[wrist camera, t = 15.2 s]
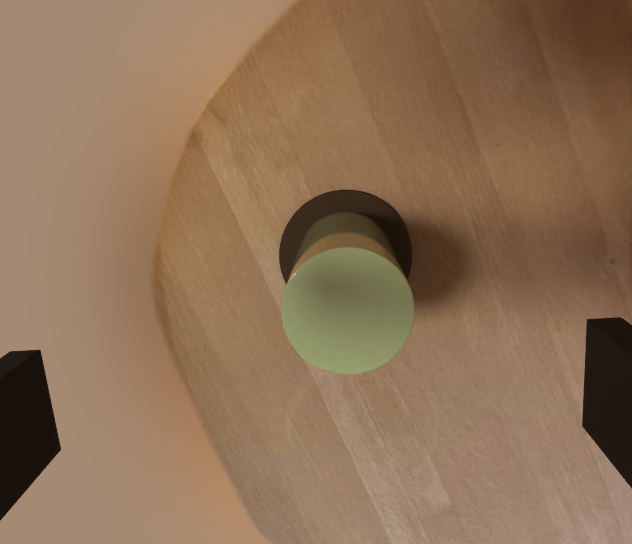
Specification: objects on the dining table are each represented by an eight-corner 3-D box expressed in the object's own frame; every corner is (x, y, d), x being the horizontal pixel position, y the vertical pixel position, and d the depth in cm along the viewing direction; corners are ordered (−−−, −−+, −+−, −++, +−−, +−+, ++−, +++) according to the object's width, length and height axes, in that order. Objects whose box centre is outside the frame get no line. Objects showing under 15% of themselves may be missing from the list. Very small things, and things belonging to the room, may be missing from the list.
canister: (294, 214, 39) (275, 251, 27) (390, 208, 38) (412, 243, 27) (301, 306, 40) (286, 378, 29) (394, 301, 40) (416, 371, 28)
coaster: (274, 194, 39) (273, 195, 38) (409, 185, 38) (409, 186, 38) (285, 321, 41) (284, 323, 41) (413, 314, 40) (413, 316, 40)
